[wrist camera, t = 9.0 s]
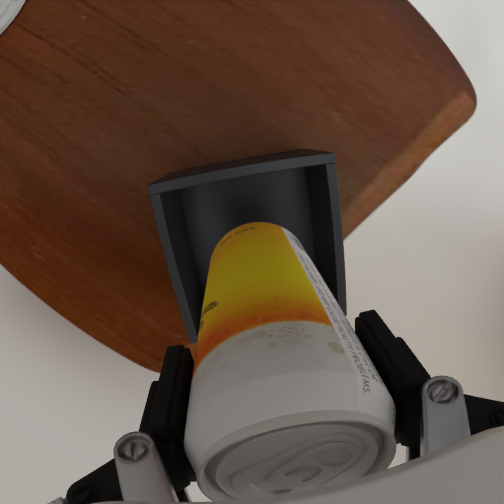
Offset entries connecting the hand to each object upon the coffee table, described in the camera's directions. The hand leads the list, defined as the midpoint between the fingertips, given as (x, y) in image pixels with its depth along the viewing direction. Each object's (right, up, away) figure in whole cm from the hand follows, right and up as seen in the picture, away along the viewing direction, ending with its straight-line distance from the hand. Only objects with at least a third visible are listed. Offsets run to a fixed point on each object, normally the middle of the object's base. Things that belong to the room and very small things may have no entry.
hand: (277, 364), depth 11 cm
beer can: (-1, +3, +10) cm, 10 cm away
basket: (-1, +6, +18) cm, 19 cm away
